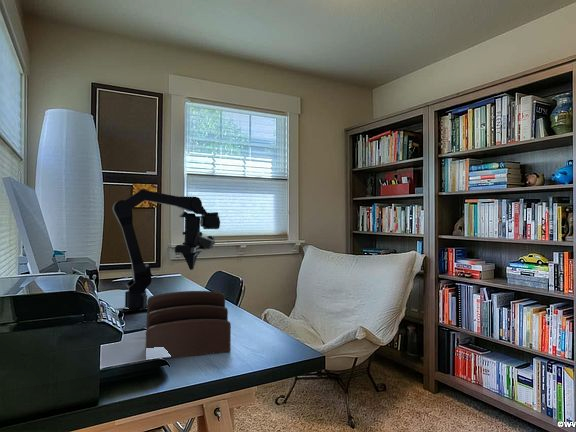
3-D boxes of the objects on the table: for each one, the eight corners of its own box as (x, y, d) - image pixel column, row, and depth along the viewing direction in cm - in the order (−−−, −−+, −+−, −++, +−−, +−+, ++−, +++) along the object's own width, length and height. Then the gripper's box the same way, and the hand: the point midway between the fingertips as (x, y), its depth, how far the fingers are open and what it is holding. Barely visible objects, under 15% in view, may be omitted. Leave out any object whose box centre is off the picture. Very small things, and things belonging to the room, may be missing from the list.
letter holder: (146, 347, 95) (147, 292, 95) (224, 340, 102) (225, 288, 102) (144, 362, 86) (146, 300, 86) (230, 353, 92) (231, 296, 92)
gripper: (203, 230, 134) (203, 273, 134) (220, 229, 153) (219, 267, 152) (174, 229, 135) (173, 272, 135) (193, 228, 154) (193, 266, 154)
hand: (191, 269), depth 144 cm, fingers closed
